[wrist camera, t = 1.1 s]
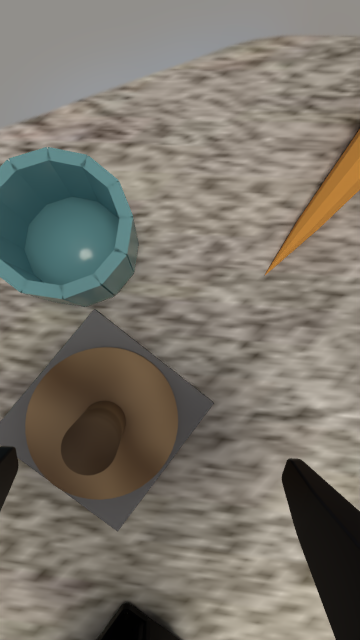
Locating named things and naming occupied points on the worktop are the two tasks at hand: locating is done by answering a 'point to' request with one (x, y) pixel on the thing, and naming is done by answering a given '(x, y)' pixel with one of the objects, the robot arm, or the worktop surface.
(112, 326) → the mat
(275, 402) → the worktop surface
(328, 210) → the carrot
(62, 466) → the lid
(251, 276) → the worktop surface
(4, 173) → the bowl
